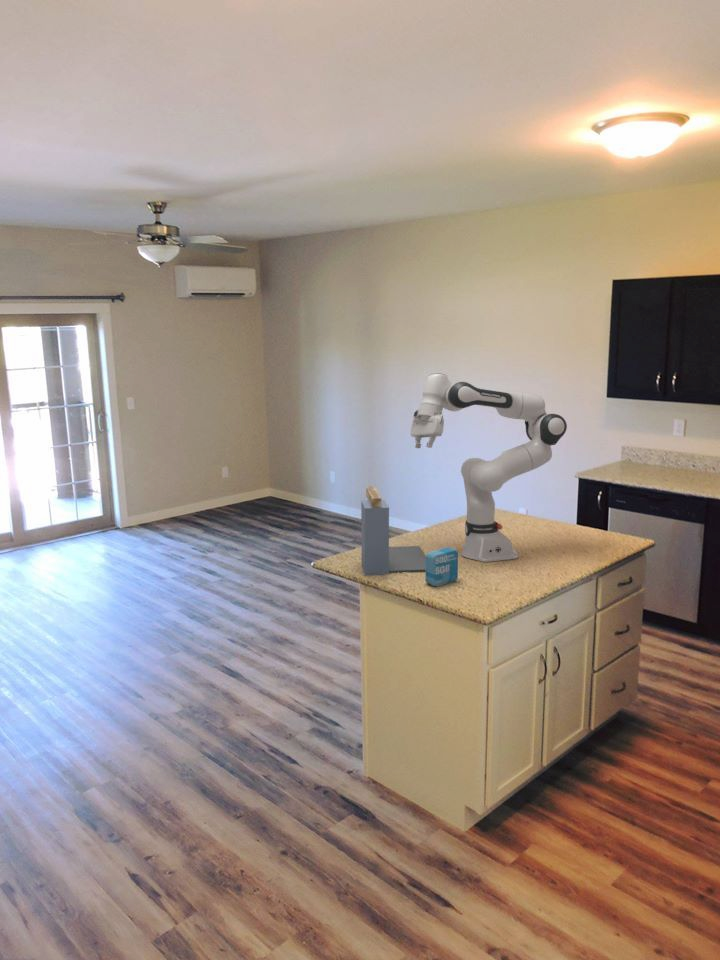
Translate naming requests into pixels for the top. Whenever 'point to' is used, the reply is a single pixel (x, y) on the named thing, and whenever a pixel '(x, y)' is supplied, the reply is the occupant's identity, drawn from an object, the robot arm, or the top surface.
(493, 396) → the robot arm
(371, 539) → the slate block
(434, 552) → the data package
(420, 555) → the rubber mat
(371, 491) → the maple rod
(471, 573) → the top surface
